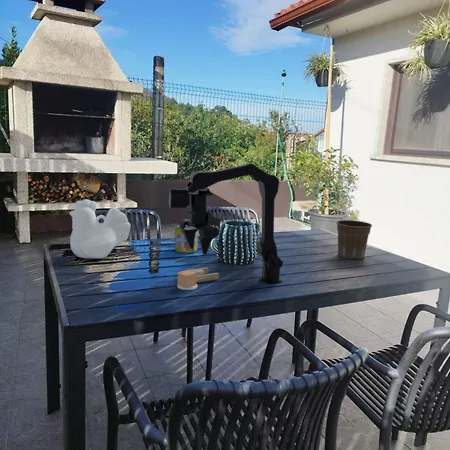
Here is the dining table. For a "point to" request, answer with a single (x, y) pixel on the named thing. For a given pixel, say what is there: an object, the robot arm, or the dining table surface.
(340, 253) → the plant pot
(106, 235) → the decorative rooster
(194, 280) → the block
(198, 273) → the beige rectangular block
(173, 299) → the dining table surface
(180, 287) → the white flat disc
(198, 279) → the channel
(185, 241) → the chalk box
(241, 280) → the dining table surface
